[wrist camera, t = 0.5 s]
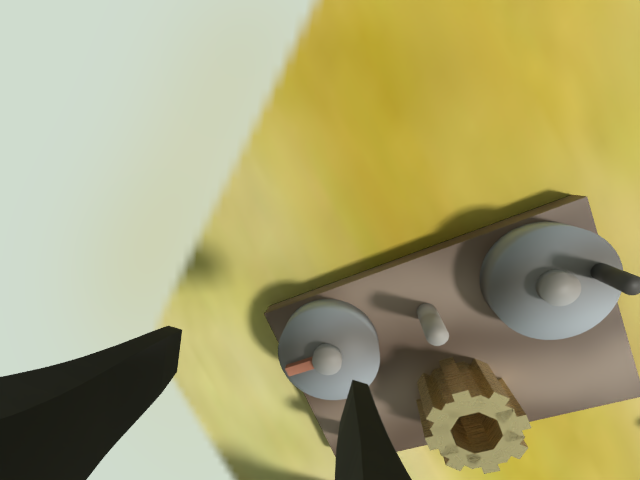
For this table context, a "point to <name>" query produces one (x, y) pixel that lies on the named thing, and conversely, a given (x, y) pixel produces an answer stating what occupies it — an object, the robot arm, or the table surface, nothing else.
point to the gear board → (470, 322)
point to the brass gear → (471, 416)
